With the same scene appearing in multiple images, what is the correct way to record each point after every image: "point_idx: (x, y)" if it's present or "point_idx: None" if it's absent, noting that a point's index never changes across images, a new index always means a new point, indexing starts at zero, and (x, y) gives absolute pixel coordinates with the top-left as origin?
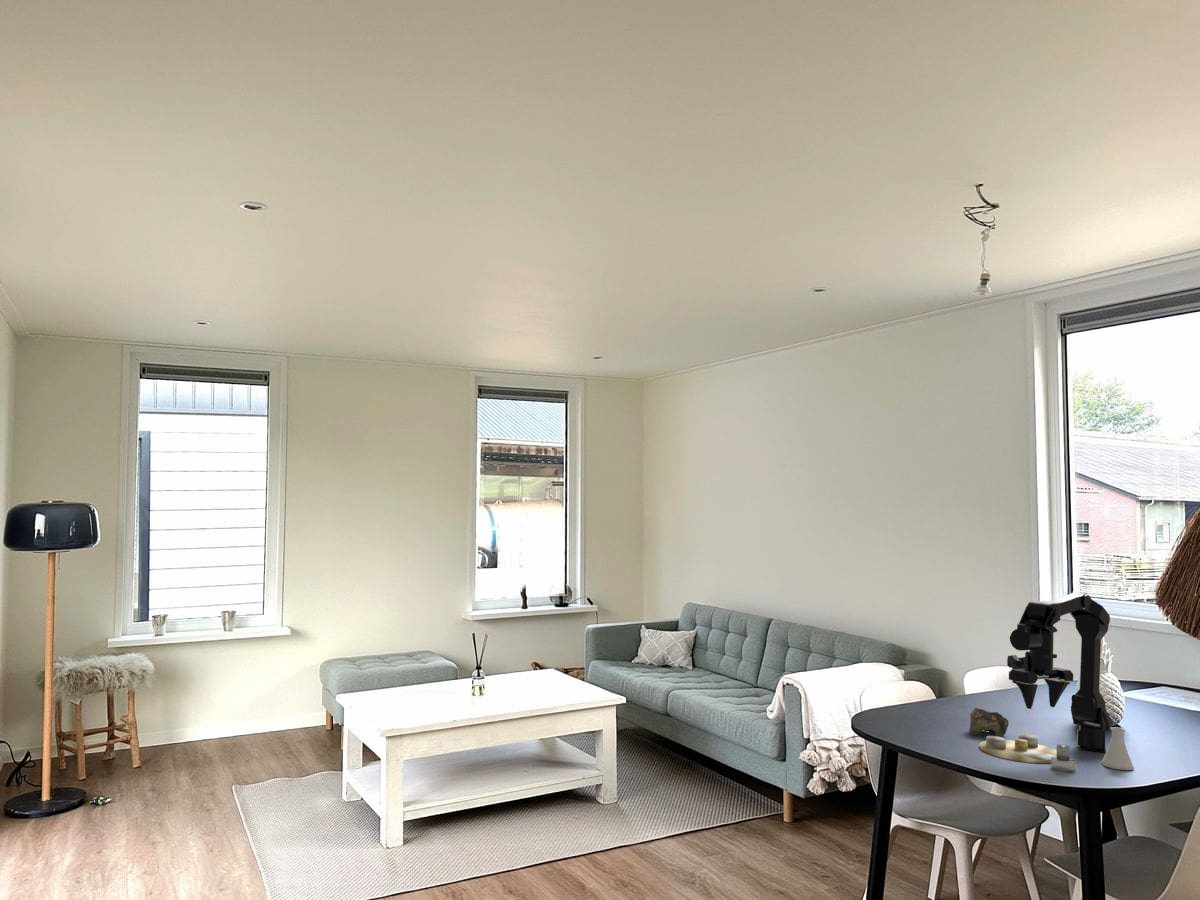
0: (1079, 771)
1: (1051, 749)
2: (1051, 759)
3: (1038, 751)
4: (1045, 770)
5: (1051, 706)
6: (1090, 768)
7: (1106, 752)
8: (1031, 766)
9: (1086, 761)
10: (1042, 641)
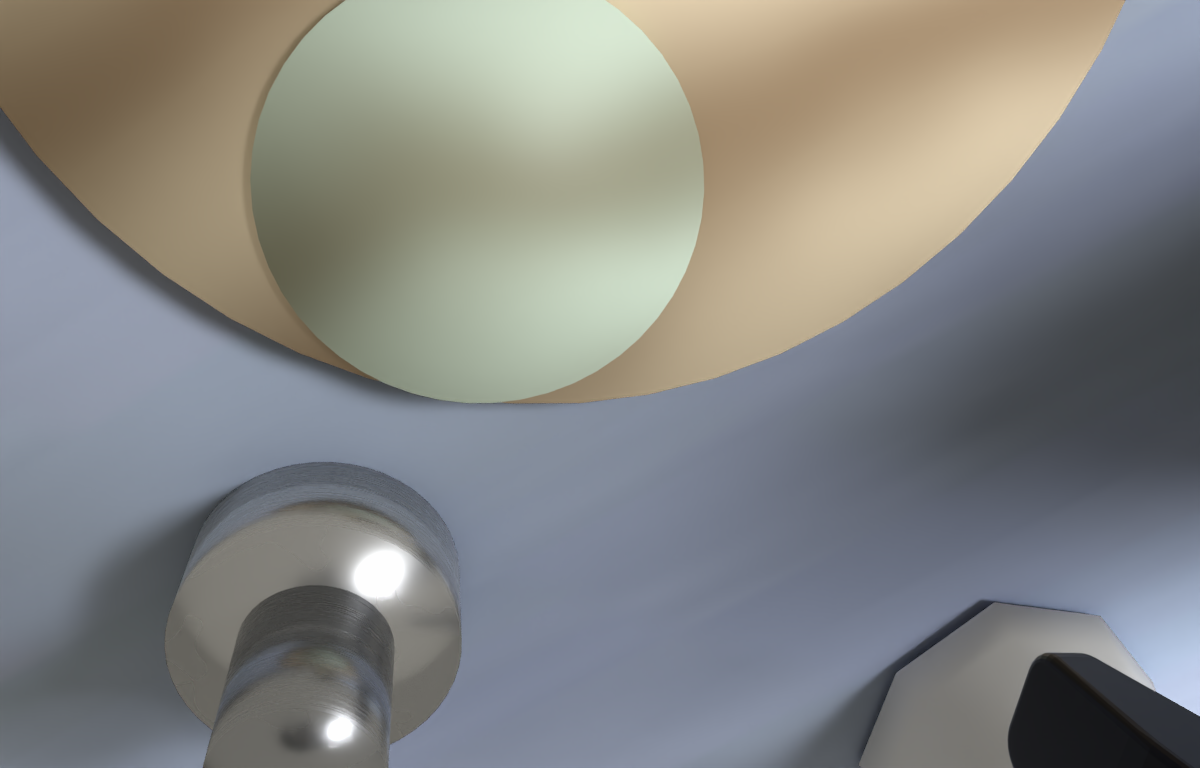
0: None
1: (1035, 42)
2: (192, 569)
3: (728, 24)
4: (39, 537)
5: (1030, 694)
6: (679, 658)
7: None
8: (5, 362)
9: (950, 482)
10: None
